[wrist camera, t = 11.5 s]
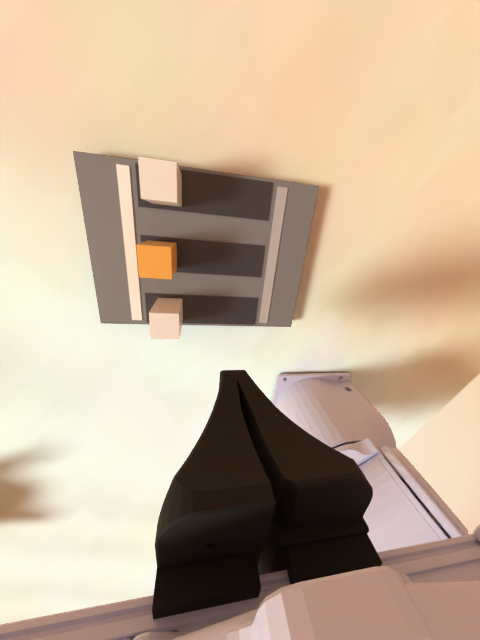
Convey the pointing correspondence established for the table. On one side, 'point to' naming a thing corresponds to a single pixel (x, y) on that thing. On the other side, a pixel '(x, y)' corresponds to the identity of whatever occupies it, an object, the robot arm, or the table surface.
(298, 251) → the panel
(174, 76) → the table surface
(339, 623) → the robot arm
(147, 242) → the breaker
